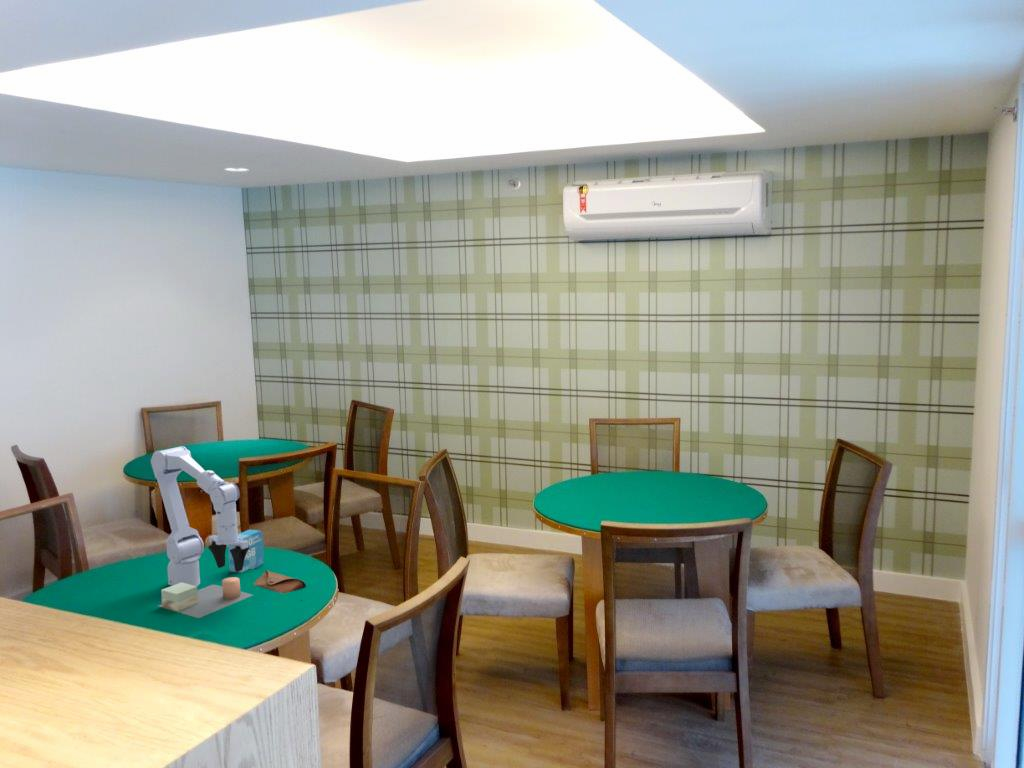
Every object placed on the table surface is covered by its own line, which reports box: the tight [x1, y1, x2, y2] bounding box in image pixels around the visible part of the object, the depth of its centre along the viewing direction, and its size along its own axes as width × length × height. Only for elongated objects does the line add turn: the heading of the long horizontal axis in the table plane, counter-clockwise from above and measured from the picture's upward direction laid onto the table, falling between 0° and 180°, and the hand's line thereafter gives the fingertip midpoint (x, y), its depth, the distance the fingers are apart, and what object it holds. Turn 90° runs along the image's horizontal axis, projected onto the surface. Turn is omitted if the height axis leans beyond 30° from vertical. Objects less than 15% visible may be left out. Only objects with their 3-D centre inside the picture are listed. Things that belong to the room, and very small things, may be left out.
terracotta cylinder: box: [221, 576, 241, 599], centre depth 254 cm, size 5×5×5 cm
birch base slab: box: [161, 595, 198, 612], centre depth 248 cm, size 7×7×2 cm
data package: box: [227, 529, 265, 573], centre depth 281 cm, size 12×4×12 cm, turn 159°
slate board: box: [158, 584, 254, 619], centre depth 252 cm, size 18×20×1 cm
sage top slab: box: [160, 582, 198, 603], centre depth 248 cm, size 7×7×2 cm
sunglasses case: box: [253, 569, 307, 594], centre depth 264 cm, size 18×7×7 cm, turn 57°
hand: (230, 568), depth 253 cm, fingers open, 7 cm apart
